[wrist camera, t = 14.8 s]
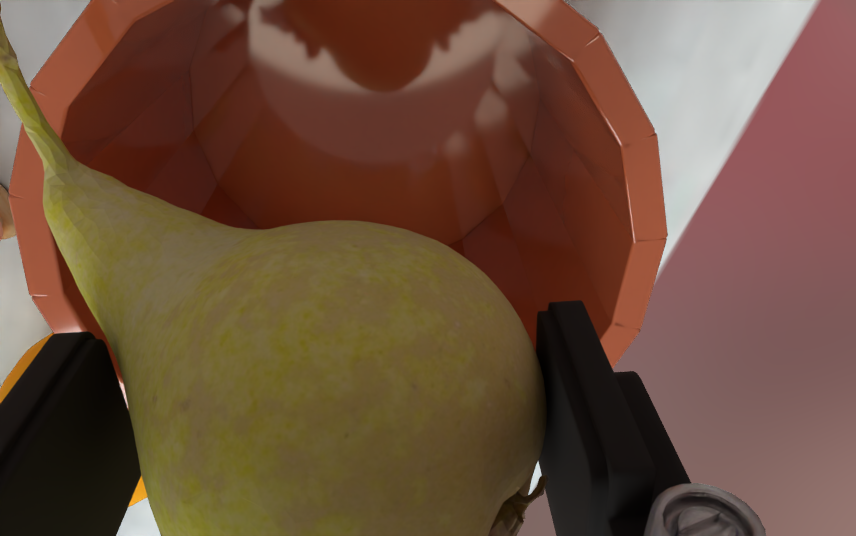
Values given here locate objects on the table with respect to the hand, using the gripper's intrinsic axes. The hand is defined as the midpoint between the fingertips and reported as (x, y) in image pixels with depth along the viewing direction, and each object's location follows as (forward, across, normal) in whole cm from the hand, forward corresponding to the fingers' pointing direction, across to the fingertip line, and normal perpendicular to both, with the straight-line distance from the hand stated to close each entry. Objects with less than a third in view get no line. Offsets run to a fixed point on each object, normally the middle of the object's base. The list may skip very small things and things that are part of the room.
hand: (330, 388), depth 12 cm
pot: (+17, 0, 0) cm, 17 cm away
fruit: (-3, -3, +1) cm, 4 cm away
